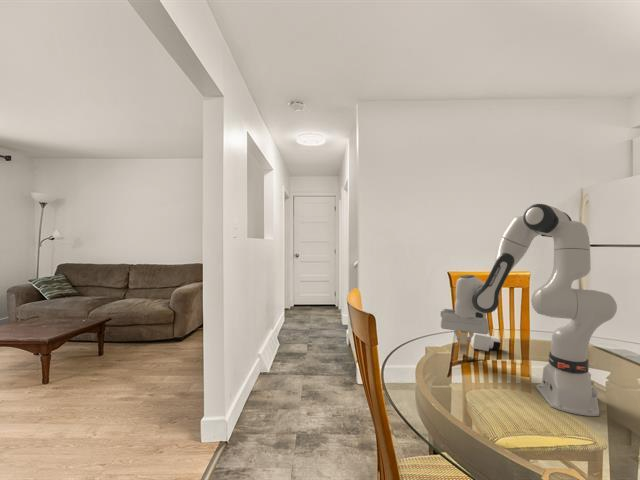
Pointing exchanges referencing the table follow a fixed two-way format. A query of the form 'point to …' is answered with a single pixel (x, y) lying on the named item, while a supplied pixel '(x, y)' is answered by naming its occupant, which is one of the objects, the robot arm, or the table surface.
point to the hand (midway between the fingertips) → (463, 340)
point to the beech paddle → (463, 342)
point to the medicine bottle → (485, 342)
